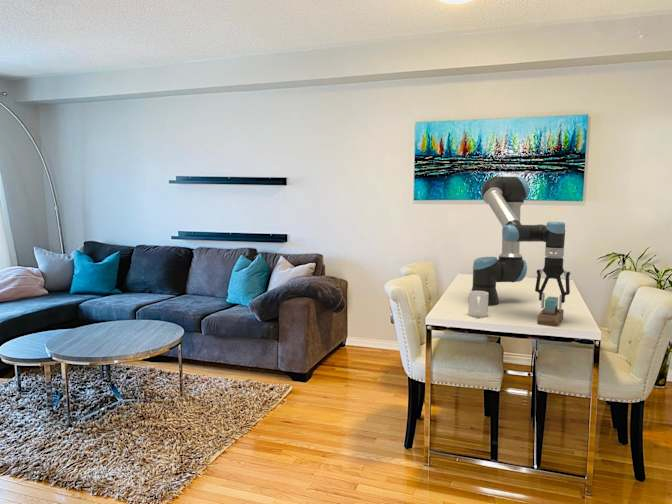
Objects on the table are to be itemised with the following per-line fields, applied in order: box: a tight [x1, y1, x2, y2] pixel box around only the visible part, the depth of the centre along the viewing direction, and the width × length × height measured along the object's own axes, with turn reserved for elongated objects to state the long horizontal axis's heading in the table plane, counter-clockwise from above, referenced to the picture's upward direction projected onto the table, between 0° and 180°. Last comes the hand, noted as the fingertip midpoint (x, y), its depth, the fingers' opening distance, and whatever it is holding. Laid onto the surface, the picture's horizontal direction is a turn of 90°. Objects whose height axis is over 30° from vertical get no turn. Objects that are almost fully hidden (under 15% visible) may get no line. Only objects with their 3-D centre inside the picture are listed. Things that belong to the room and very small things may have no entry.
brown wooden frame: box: [536, 307, 565, 327], centre depth 229 cm, size 18×8×4 cm, turn 149°
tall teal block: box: [544, 296, 559, 315], centre depth 228 cm, size 10×4×10 cm, turn 149°
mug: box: [468, 290, 489, 318], centre depth 237 cm, size 9×12×11 cm
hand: (551, 308), depth 228 cm, fingers open, 7 cm apart
